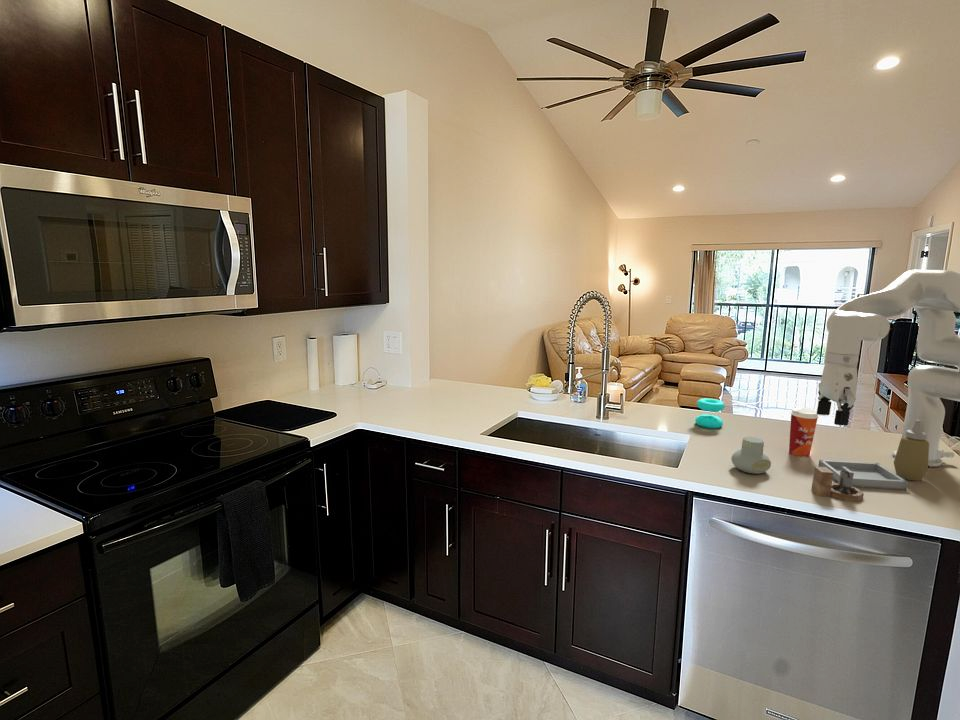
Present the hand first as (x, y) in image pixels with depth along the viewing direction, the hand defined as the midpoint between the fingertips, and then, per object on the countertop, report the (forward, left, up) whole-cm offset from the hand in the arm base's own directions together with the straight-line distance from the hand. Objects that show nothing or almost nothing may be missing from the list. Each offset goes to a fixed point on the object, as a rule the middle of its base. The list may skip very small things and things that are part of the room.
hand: (831, 419), depth 145 cm
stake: (-5, +3, -21) cm, 21 cm away
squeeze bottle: (-31, -13, -21) cm, 39 cm away
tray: (-16, -10, -21) cm, 28 cm away
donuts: (+15, -56, -21) cm, 62 cm away
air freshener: (+15, -11, -21) cm, 28 cm away
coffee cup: (-7, -29, -21) cm, 37 cm away
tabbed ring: (-3, +3, -21) cm, 21 cm away
